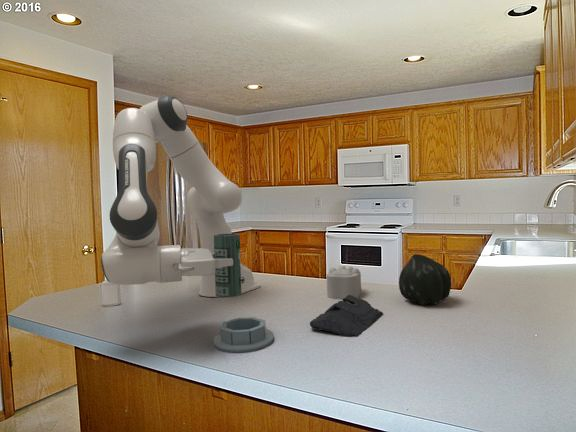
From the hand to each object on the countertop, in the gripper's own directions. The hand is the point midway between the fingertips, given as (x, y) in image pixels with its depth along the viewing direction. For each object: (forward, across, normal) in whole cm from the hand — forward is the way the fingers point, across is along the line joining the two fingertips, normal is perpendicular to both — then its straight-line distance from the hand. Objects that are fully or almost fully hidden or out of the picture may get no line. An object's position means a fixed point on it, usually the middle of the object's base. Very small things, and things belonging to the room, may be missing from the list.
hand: (231, 259), depth 104 cm
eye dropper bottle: (-35, +42, +19) cm, 58 cm away
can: (-1, 0, +9) cm, 9 cm away
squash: (+57, +4, +17) cm, 60 cm away
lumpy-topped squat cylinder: (+39, +22, +18) cm, 48 cm away
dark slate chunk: (+29, -4, +18) cm, 34 cm away
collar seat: (+1, -8, +18) cm, 20 cm away
